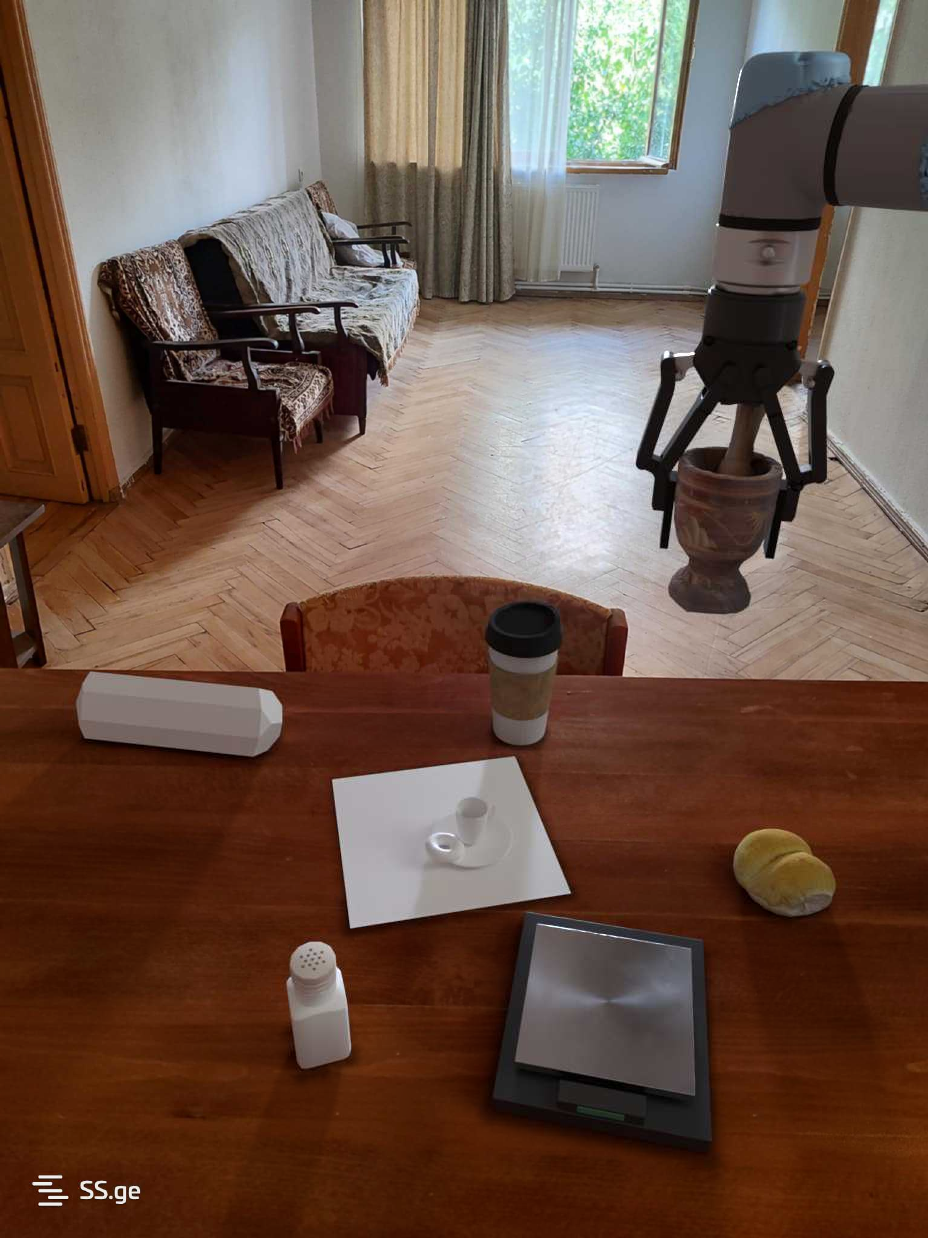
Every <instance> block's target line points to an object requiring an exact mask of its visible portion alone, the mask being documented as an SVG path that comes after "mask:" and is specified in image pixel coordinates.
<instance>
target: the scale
mask: <svg viewBox="0 0 928 1238" xmlns="http://www.w3.org/2000/svg"><path fill="white" fill-rule="evenodd" d="M537 924H543V925H549V926H555V927H561V928H567V929H574V930H580V931H586V932H592V933H598V934H604V935H610V936H616V937H622V938H628V939H635V940H641V941H647V942H653V943H659V944H665V945H671V946H677V947H683V948H689V949H691V954H692V991H693V1027H694V1064H695V1099H694V1102H690V1101H685V1100H680V1099H675V1098H670V1097H664V1096H659V1095H654V1094H649V1093H644V1092H638V1091H633V1090H628V1089H623V1088H618V1087H612V1086H607V1085H602V1084H597V1083H591V1082H586V1081H581V1080H576V1079H571V1078H565V1077H560V1076H555V1075H550V1074H545V1073H539V1072H534V1071H529V1070H524V1069H519V1068H515V1067H514V1063H515V1056H516V1049H517V1043H518V1037H519V1031H520V1025H521V1019H522V1012H523V1006H524V1000H525V994H526V988H527V982H528V975H529V969H530V963H531V957H532V951H533V945H534V938H535V932H536V926H537ZM521 930H522V931H521V935H520V942H519V945H518V952H517V958H516V964H515V969H514V974H513V980H512V985H511V991H510V997H509V1002H508V1007H507V1008H508V1010H507V1014H506V1020H505V1024H504V1031H503V1036H502V1042H501V1047H500V1051H499V1059H498V1063H497V1064H498V1065H497V1069H496V1075H495V1080H494V1086H493V1092H492V1097H491V1099H492V1101H491V1111H493V1112H498V1113H504V1114H508V1115H513V1116H519V1117H524V1118H529V1119H533V1120H539V1121H544V1122H548V1123H553V1124H558V1125H564V1126H568V1127H574V1128H577V1129H583V1130H588V1131H593V1132H597V1133H602V1134H607V1135H613V1136H617V1137H622V1138H627V1139H632V1140H638V1141H642V1142H648V1143H652V1144H656V1145H657V1144H658V1145H662V1146H667V1147H673V1148H677V1149H682V1150H688V1151H693V1152H697V1153H701V1154H702V1153H703V1154H706V1155H708V1154H709V1153H710V1150H711V1146H712V1143H713V1139H712V1135H713V1134H712V1115H711V1114H712V1113H711V1092H710V1066H709V1045H708V1044H709V1043H708V1042H709V1041H708V1019H707V1017H708V1016H707V997H706V995H707V994H706V970H705V969H706V968H705V949H704V945H705V944H704V940H703V939H696V938H690V937H685V936H678V935H671V934H665V933H660V932H659V933H658V932H654V931H653V932H652V931H647V930H641V929H635V928H629V927H623V926H616V925H610V924H603V923H597V922H591V921H584V920H579V919H573V918H568V917H560V916H554V915H548V914H542V913H536V912H535V913H534V912H529V911H525V913H524V918H523V925H522V929H521Z"/></svg>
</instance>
